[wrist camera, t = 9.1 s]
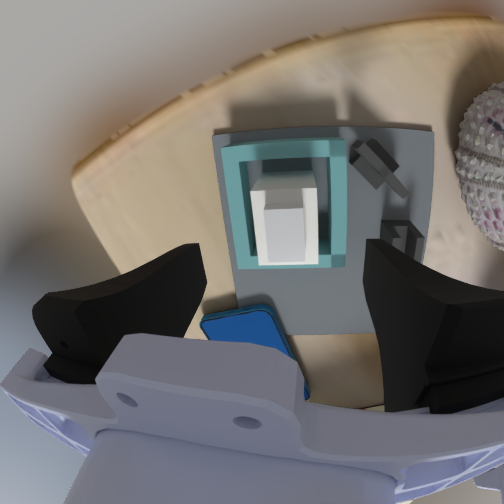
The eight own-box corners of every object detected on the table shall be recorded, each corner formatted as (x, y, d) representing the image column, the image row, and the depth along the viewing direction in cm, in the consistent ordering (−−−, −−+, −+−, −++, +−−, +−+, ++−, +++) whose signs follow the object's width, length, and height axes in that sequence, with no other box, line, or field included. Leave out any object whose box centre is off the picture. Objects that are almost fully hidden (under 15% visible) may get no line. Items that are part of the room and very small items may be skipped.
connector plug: (312, 170, 18) (317, 193, 13) (315, 230, 20) (319, 273, 15) (262, 172, 19) (246, 196, 14) (268, 231, 21) (256, 274, 16)
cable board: (431, 131, 16) (455, 136, 12) (405, 327, 24) (414, 353, 20) (213, 135, 19) (195, 140, 16) (243, 331, 27) (236, 358, 24)
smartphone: (269, 306, 23) (312, 399, 29) (270, 299, 24) (312, 393, 30) (195, 320, 25) (254, 405, 31) (198, 314, 26) (255, 399, 32)
